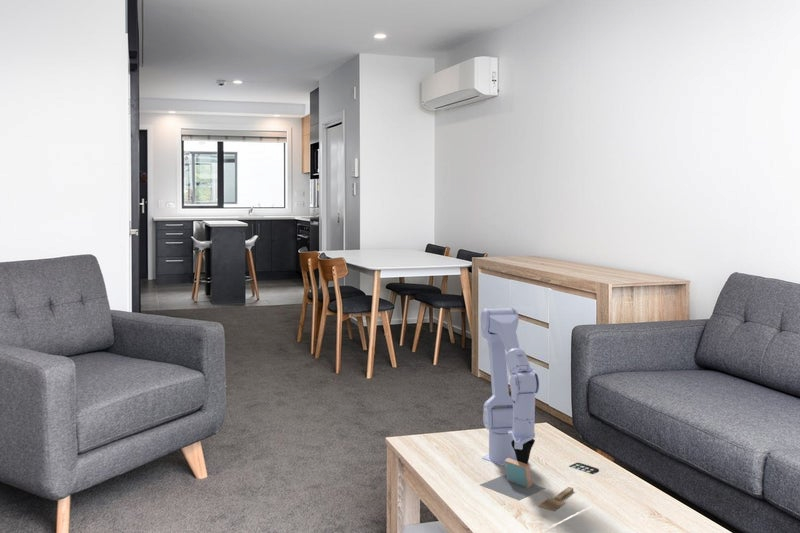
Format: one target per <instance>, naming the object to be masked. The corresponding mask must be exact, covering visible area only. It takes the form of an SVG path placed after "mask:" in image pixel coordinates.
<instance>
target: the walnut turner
mask: <svg viewBox="0 0 800 533" xmlns="http://www.w3.org/2000/svg"><path fill="white" fill-rule="evenodd" d="M573 492H574V487H571V486H567V487H566V488H565V489H563V490H561V492H559V493H558V494H557V495H555V496H554V498H551V497H548V498H547V499H545V500H544V501H543V502H541V503H540V504H539V505H537V507H538V508H542V509H545V510H549V511H552V512H556V511H557V510H559V509H560V508H561V507H562V506H563V505H565V504H566V501H562V500H564V499H565V498H566V497H567V496H569V495H570V494H572V493H573Z"/></svg>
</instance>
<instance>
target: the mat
mask: <svg viewBox="0 0 800 533" xmlns="http://www.w3.org/2000/svg"><path fill="white" fill-rule="evenodd" d="M479 486H482V487H484V488H487V489H489V490H492V491H494V492H497V493H499V494H502V495H504V496H506V497H509V498H512V499H515V500H517V501H521V500H523V499H526V498H527V497H529V496H532V495H535V494H537V493H538V492H541V491H543V490H546V488H545V487H544V486H540V485H537V484H536V483H532V486H531V487H529V488H526V487H524V486H521V485H518V484H516V483H513V482H510V481H508V480H507V475H506V473H505V474H502V475H501V476H500V475H499V476H498V477H495V478H493V479H490V480H488V481H485V482H483V483H480V484H479Z"/></svg>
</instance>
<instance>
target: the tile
mask: <svg viewBox="0 0 800 533" xmlns="http://www.w3.org/2000/svg"><path fill="white" fill-rule="evenodd" d="M504 461H505V465H504V467H505V474H506V475H507V480H508V481H510V482H513V483H516V484H518V485H521V486H524V487H526V488H529V487H531V486H532V484H533V482H532V476H531V474H532V473H531V467H530V464H529V463H528V464H525V463H522V462H519V461H516V460H513V459H510V458H507V459H506V460H504Z"/></svg>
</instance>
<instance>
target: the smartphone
mask: <svg viewBox="0 0 800 533" xmlns="http://www.w3.org/2000/svg"><path fill="white" fill-rule="evenodd" d="M568 467H570V468H571V469H575V470H578V471H581V472H584V473H587V474H590V475H593V474H595V473H597V472H599V471H600V470H599V468H597V467H594V466H591V465H589V464H585V463H581V462H575V463H573V464H571V465H568Z"/></svg>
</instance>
